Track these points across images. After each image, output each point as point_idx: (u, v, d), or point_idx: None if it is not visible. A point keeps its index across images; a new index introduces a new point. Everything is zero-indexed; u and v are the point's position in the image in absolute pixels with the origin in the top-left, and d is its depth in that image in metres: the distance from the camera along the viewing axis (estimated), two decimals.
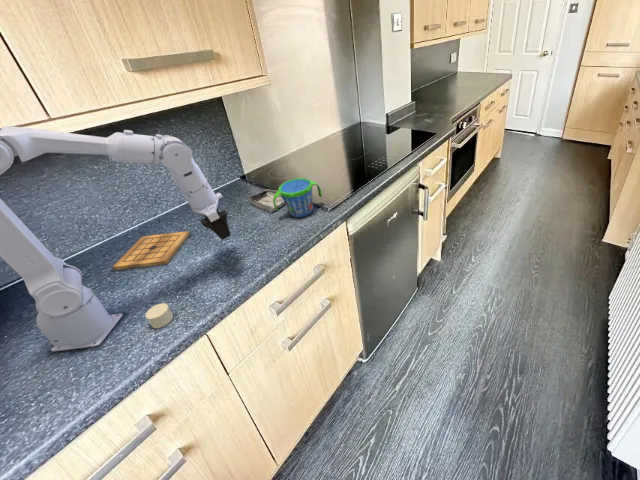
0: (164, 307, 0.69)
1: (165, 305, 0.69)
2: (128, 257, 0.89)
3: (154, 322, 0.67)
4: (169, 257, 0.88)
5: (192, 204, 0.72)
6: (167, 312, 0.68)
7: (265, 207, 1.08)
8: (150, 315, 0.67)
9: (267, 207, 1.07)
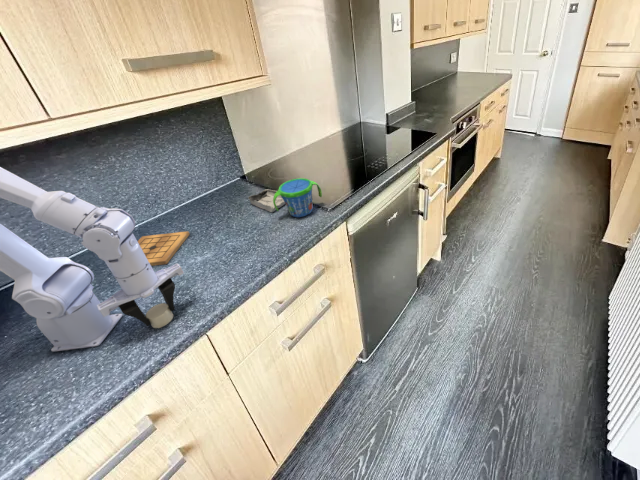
0: (164, 307, 0.69)
1: (165, 305, 0.69)
2: None
3: (154, 322, 0.67)
4: (169, 257, 0.88)
5: None
6: (167, 312, 0.68)
7: (265, 207, 1.08)
8: (150, 315, 0.67)
9: (267, 207, 1.07)
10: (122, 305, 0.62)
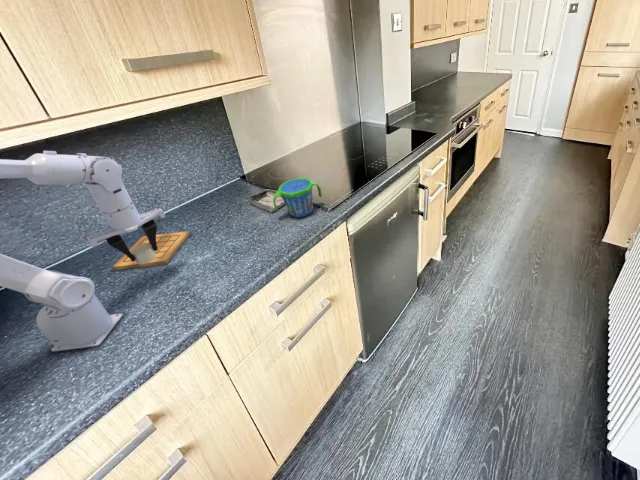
0: (148, 246, 0.77)
1: (149, 245, 0.78)
2: (128, 257, 0.89)
3: (138, 258, 0.75)
4: (169, 257, 0.88)
5: None
6: (151, 250, 0.77)
7: (265, 207, 1.08)
8: (135, 252, 0.75)
9: (267, 207, 1.07)
10: (109, 239, 0.70)
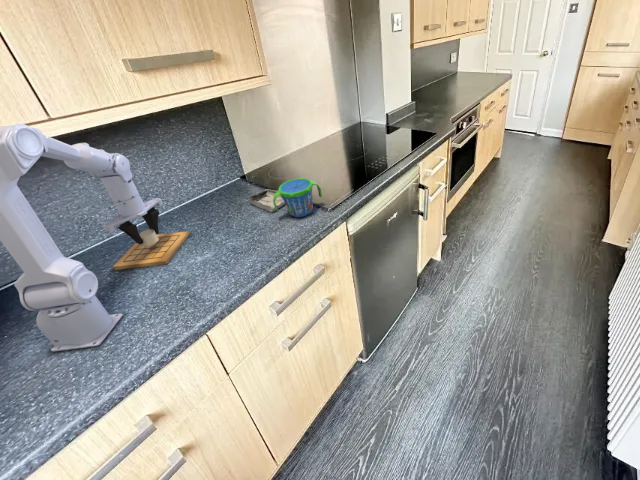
0: (151, 231, 0.90)
1: (151, 230, 0.91)
2: (128, 257, 0.89)
3: (146, 240, 0.88)
4: (169, 257, 0.88)
5: None
6: (155, 233, 0.90)
7: (265, 207, 1.08)
8: (141, 236, 0.88)
9: (267, 207, 1.07)
10: (122, 224, 0.83)
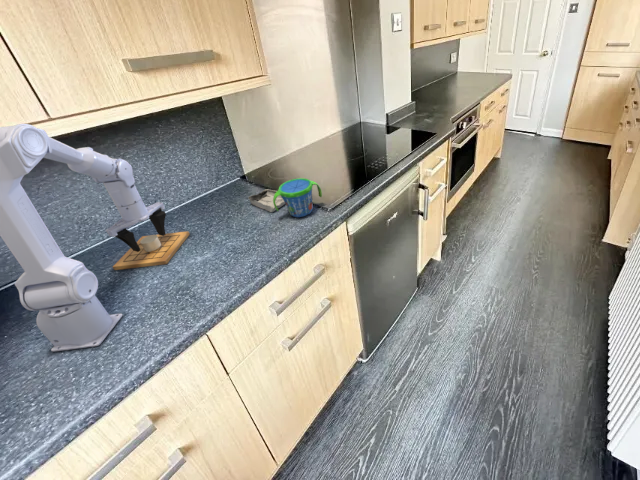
0: (154, 236, 0.91)
1: (154, 235, 0.92)
2: (128, 257, 0.89)
3: (149, 246, 0.89)
4: (169, 257, 0.88)
5: None
6: (158, 239, 0.91)
7: (265, 207, 1.08)
8: (144, 241, 0.89)
9: (267, 207, 1.07)
10: (125, 229, 0.84)
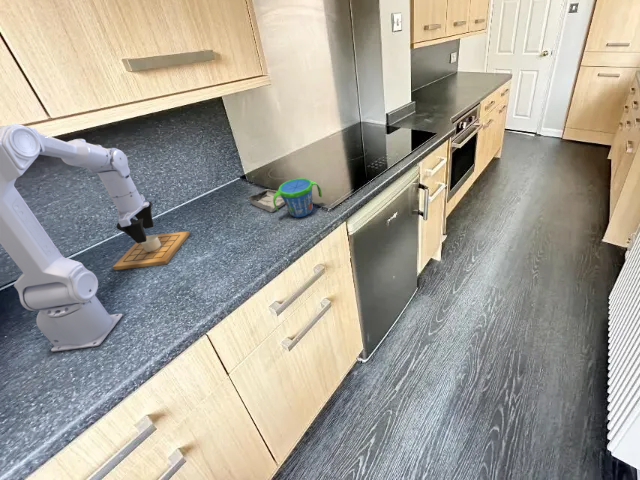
0: (154, 236, 0.91)
1: (154, 235, 0.92)
2: (128, 257, 0.89)
3: (149, 246, 0.89)
4: (169, 257, 0.88)
5: (116, 207, 0.82)
6: (158, 239, 0.91)
7: (265, 207, 1.08)
8: None
9: (267, 207, 1.07)
10: (132, 218, 0.83)
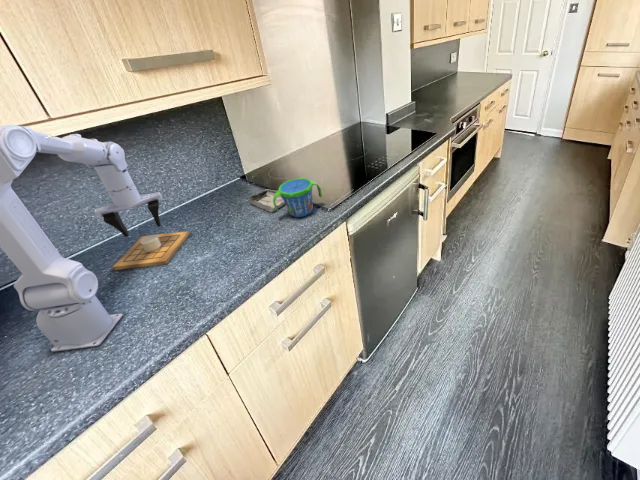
0: (154, 236, 0.91)
1: (154, 235, 0.92)
2: (128, 257, 0.89)
3: (149, 246, 0.89)
4: (169, 257, 0.88)
5: (133, 198, 0.83)
6: (158, 239, 0.91)
7: (265, 207, 1.08)
8: (144, 241, 0.89)
9: (267, 207, 1.07)
10: None
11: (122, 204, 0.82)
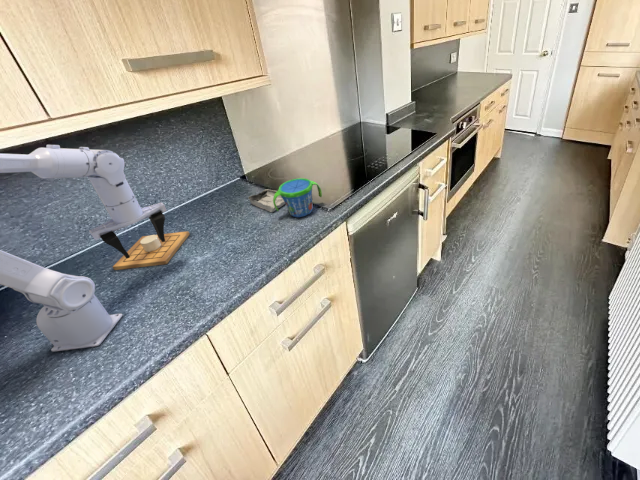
0: (154, 236, 0.91)
1: (154, 235, 0.92)
2: None
3: (149, 246, 0.89)
4: (169, 257, 0.88)
5: (137, 211, 0.73)
6: (158, 239, 0.91)
7: (265, 207, 1.08)
8: (144, 241, 0.89)
9: (267, 207, 1.07)
10: None
11: (126, 219, 0.71)
